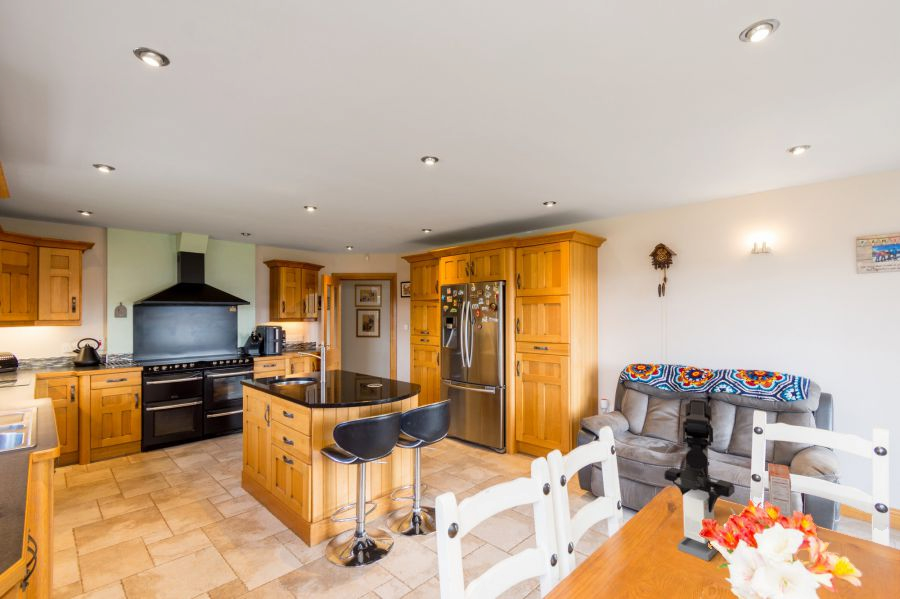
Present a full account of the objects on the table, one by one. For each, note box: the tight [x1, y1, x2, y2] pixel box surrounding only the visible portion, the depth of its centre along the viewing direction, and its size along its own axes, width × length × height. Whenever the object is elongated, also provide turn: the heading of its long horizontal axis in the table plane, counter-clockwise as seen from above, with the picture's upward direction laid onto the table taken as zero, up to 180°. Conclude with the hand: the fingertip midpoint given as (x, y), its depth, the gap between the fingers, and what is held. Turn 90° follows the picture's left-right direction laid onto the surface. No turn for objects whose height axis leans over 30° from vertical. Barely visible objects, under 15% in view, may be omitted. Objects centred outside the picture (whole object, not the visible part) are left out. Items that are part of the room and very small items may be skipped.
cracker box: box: [767, 462, 793, 517], centre depth 146 cm, size 14×6×21 cm, turn 144°
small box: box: [682, 489, 715, 544], centre depth 136 cm, size 8×6×13 cm
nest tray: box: [677, 536, 719, 562], centre depth 135 cm, size 11×9×2 cm
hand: (698, 508), depth 136 cm, fingers closed on small box, 6 cm apart
